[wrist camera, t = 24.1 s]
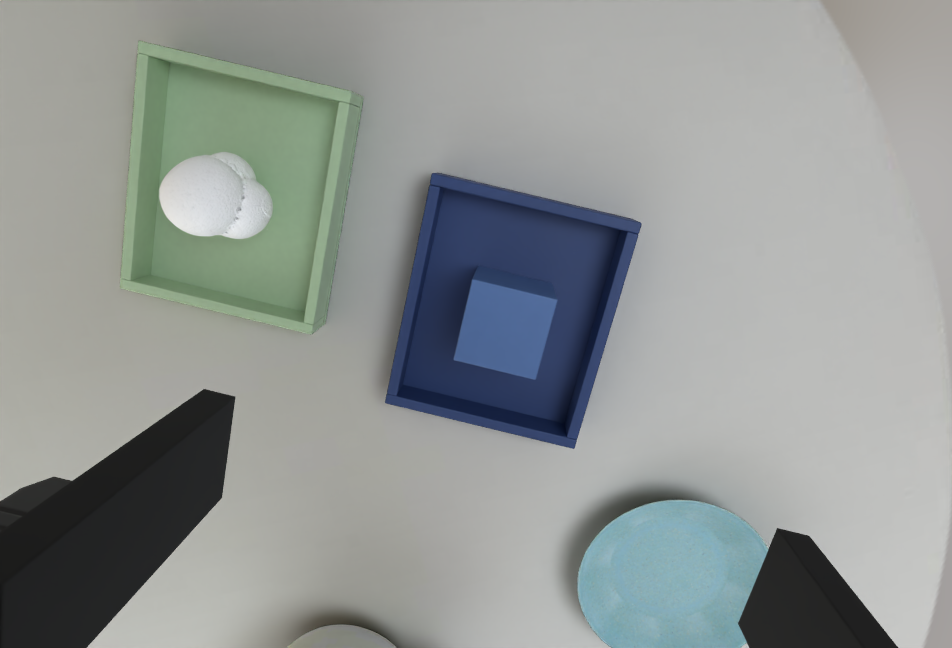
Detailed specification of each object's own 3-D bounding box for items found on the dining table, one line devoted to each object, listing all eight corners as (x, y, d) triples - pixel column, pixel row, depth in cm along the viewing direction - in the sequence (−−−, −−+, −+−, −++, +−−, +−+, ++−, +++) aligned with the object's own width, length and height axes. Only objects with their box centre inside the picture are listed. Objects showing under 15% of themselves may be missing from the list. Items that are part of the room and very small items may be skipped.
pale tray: (165, 49, 33) (137, 40, 30) (364, 96, 33) (351, 91, 30) (145, 280, 36) (119, 288, 34) (325, 324, 36) (311, 335, 34)
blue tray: (438, 172, 34) (431, 172, 31) (633, 219, 33) (642, 223, 31) (393, 388, 37) (384, 403, 35) (570, 430, 37) (574, 449, 34)
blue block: (477, 265, 34) (472, 278, 30) (553, 283, 34) (557, 299, 30) (460, 337, 35) (453, 360, 31) (533, 355, 35) (535, 380, 31)
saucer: (544, 599, 40) (546, 625, 38) (625, 452, 37) (632, 470, 35) (704, 666, 40) (715, 695, 38) (797, 526, 37) (814, 548, 35)
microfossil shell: (200, 146, 34) (140, 141, 28) (293, 161, 33) (251, 159, 28) (197, 226, 35) (140, 236, 29) (287, 240, 35) (246, 253, 29)
